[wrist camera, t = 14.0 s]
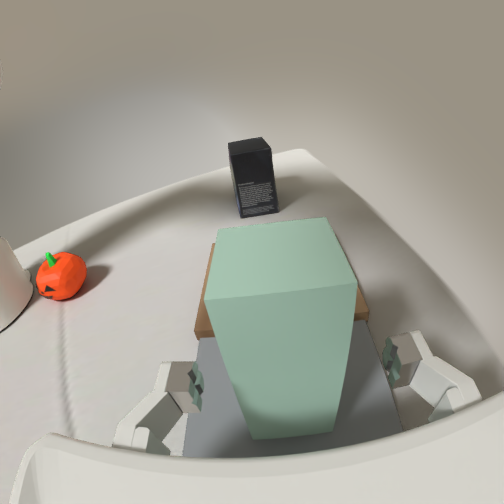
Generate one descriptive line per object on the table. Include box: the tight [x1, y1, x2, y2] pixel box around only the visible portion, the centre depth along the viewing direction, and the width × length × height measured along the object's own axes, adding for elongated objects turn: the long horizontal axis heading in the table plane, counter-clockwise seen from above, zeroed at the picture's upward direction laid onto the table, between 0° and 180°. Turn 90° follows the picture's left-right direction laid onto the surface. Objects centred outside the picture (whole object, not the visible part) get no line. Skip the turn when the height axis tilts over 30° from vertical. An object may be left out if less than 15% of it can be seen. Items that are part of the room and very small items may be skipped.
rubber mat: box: [183, 320, 403, 458], centre depth 18 cm, size 14×14×1 cm
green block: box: [204, 217, 358, 440], centre depth 14 cm, size 5×5×12 cm
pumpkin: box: [36, 252, 87, 300], centre depth 33 cm, size 7×8×6 cm
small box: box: [228, 137, 279, 218], centre depth 47 cm, size 11×6×10 cm, turn 6°
